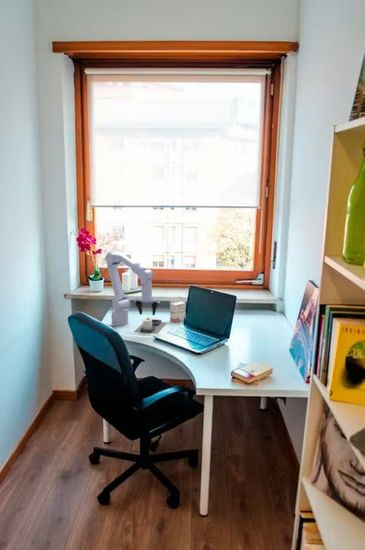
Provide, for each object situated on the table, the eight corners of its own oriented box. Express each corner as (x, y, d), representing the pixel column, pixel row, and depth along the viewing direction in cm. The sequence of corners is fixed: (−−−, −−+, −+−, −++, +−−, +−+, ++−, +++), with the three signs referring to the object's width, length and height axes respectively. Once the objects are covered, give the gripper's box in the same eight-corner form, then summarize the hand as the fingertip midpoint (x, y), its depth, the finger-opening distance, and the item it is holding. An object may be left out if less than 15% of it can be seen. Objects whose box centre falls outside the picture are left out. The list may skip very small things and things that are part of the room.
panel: (133, 333, 229) (133, 329, 229) (145, 322, 248) (145, 318, 248) (157, 335, 226) (157, 330, 226) (167, 323, 245) (167, 319, 245)
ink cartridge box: (175, 323, 245) (174, 300, 242) (170, 321, 249) (169, 298, 246) (186, 320, 250) (185, 297, 247) (180, 318, 254) (180, 295, 251)
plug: (143, 331, 230) (143, 319, 229) (145, 328, 234) (145, 317, 233) (150, 331, 229) (149, 320, 228) (152, 329, 233) (152, 317, 232)
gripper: (131, 292, 226) (132, 315, 229) (156, 293, 222) (157, 317, 225) (136, 289, 233) (137, 312, 235) (160, 290, 229) (161, 313, 232)
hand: (147, 314), depth 231 cm, fingers open, 7 cm apart
